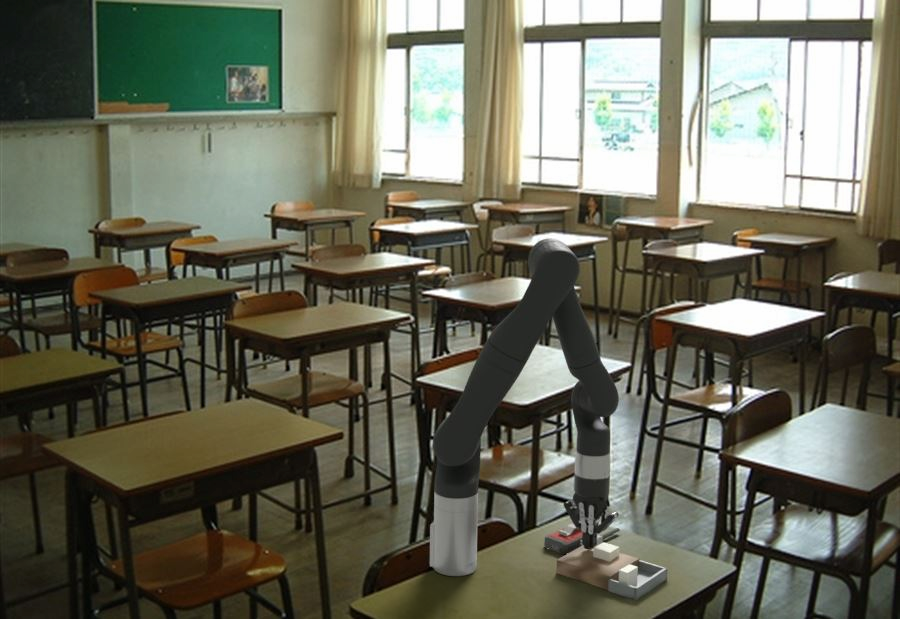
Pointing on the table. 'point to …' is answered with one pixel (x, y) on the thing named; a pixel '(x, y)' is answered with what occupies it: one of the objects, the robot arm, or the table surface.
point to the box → (640, 581)
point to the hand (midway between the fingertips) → (589, 548)
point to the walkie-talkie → (570, 539)
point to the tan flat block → (593, 567)
